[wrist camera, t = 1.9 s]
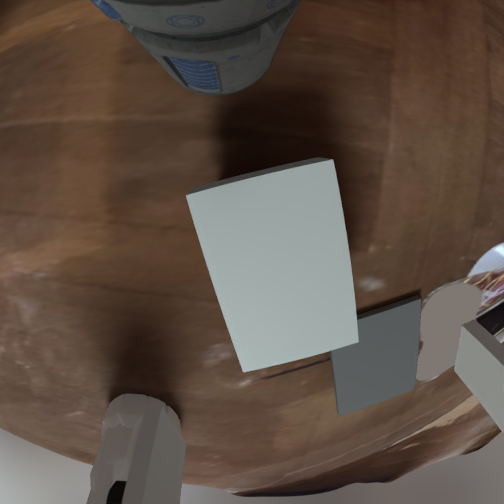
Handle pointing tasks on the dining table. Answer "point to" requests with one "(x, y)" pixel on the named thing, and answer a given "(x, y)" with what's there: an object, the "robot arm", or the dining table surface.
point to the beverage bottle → (207, 38)
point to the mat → (378, 357)
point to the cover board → (279, 261)
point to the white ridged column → (121, 441)
